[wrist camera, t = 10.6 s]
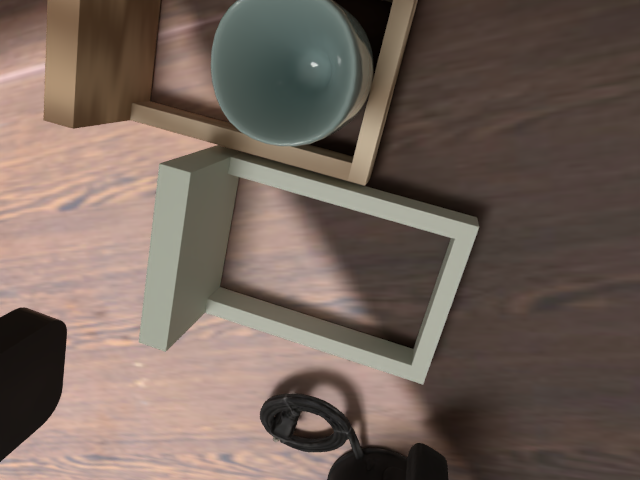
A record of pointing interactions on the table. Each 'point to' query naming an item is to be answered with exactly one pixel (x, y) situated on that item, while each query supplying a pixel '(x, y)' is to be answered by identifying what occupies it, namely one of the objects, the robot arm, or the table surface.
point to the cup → (290, 69)
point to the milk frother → (361, 464)
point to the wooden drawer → (134, 104)
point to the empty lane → (208, 297)
